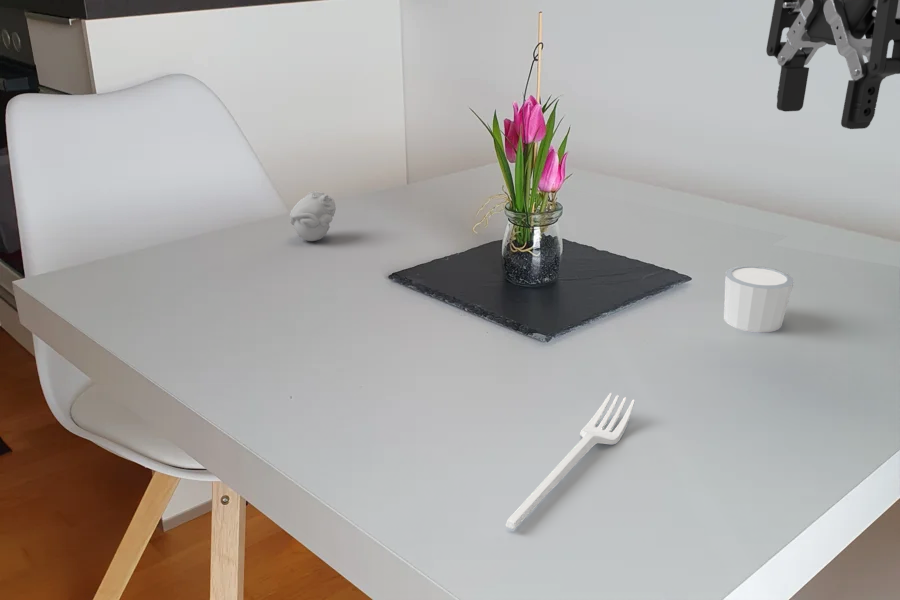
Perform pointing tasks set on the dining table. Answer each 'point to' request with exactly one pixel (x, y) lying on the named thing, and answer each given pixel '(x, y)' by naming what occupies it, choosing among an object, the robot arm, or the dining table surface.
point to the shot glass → (756, 298)
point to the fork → (577, 454)
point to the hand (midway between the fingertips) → (819, 118)
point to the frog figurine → (313, 215)
